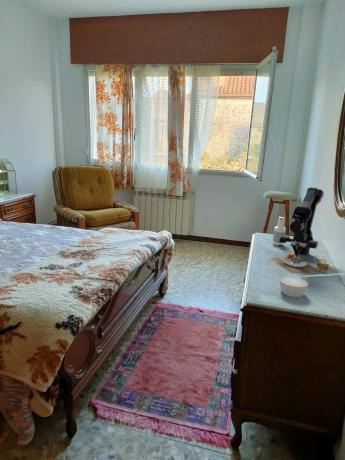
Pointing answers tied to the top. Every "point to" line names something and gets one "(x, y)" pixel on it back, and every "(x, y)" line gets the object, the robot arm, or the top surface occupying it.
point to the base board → (292, 270)
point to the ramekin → (293, 286)
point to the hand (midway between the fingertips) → (296, 257)
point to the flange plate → (298, 265)
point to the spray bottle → (279, 231)
